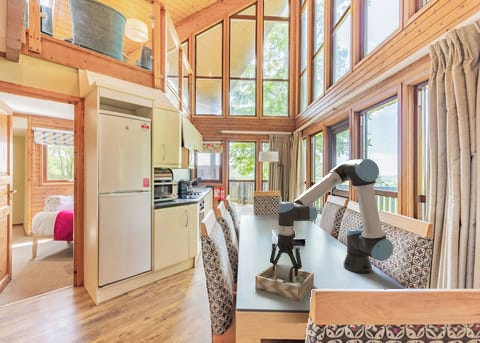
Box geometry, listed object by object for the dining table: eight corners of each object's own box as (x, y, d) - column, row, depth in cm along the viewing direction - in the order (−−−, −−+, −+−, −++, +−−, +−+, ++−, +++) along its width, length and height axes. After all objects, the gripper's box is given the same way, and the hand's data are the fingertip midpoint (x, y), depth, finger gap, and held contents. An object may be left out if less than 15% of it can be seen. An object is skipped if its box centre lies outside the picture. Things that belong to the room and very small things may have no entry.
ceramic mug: (282, 275, 128) (282, 260, 128) (296, 280, 123) (296, 264, 123) (270, 282, 120) (270, 266, 120) (286, 287, 114) (286, 271, 114)
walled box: (313, 285, 124) (313, 272, 125) (299, 302, 108) (300, 288, 108) (273, 274, 136) (273, 263, 136) (255, 288, 120) (255, 276, 120)
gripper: (262, 232, 125) (262, 277, 125) (304, 238, 113) (304, 288, 113) (269, 229, 131) (268, 272, 131) (309, 235, 120) (309, 282, 119)
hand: (285, 280), depth 122 cm, fingers closed on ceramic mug, 8 cm apart
